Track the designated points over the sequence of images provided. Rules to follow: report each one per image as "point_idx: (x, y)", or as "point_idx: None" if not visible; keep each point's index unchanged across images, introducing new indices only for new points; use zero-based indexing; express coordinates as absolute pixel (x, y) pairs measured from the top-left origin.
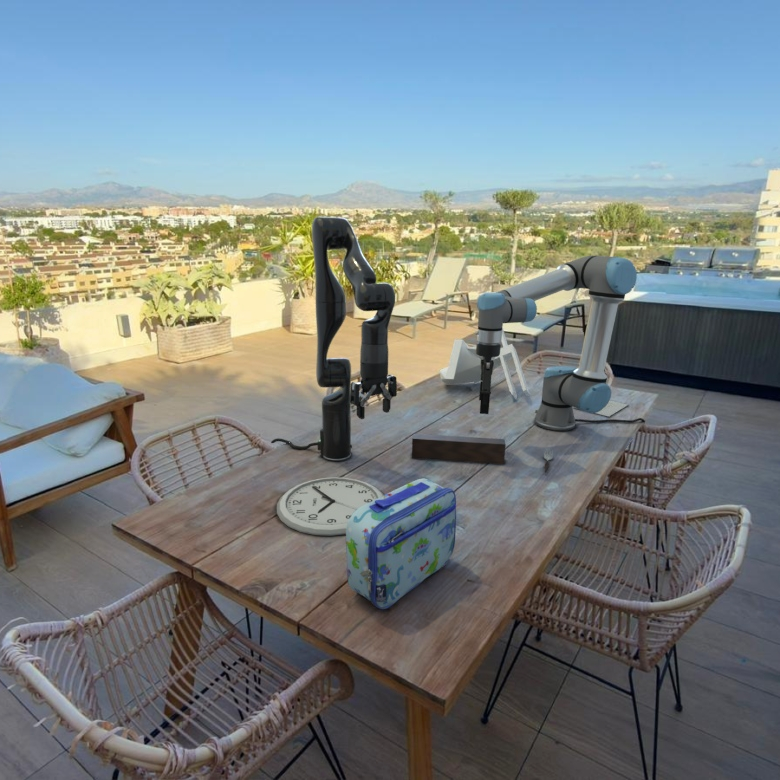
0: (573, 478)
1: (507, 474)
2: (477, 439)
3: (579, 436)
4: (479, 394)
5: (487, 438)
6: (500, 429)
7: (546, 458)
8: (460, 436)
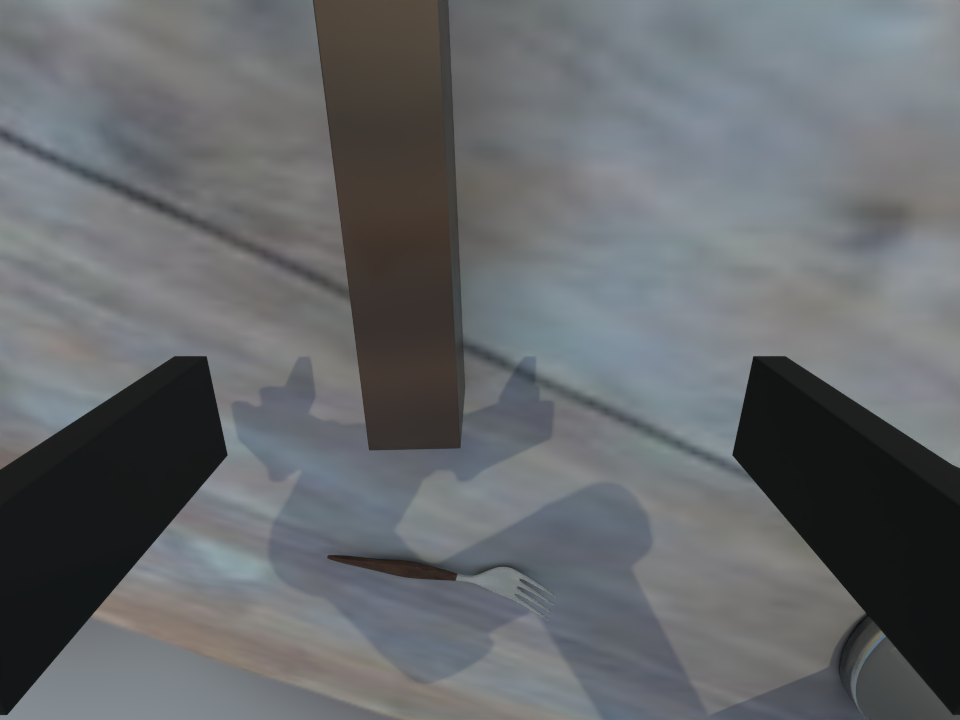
0: (328, 635)
1: (278, 400)
2: (410, 269)
3: (773, 712)
4: (829, 390)
5: (446, 342)
6: (896, 399)
7: (489, 575)
8: (443, 127)
